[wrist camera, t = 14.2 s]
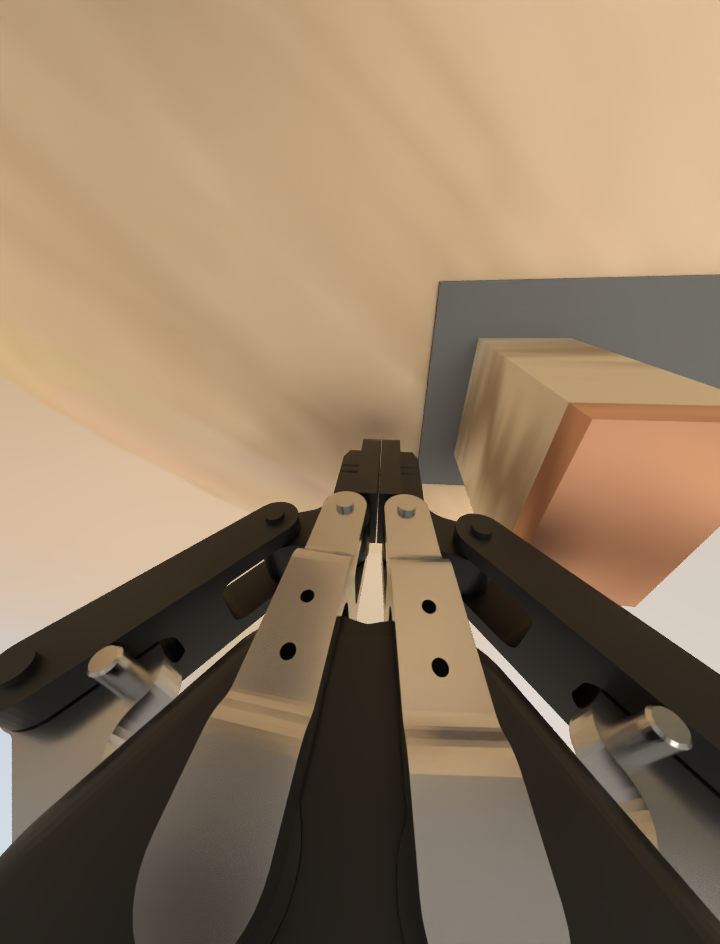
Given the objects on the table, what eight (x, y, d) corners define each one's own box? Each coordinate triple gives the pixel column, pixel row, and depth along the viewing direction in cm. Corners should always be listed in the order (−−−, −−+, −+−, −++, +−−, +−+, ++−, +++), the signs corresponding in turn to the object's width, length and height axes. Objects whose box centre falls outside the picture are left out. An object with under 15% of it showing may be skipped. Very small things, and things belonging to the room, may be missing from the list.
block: (478, 337, 14) (592, 419, 6) (571, 338, 14) (825, 425, 6) (453, 453, 18) (502, 595, 10) (525, 456, 18) (634, 606, 10)
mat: (439, 281, 13) (440, 281, 13) (873, 270, 12) (887, 270, 11) (416, 479, 20) (416, 483, 20) (686, 491, 19) (691, 494, 18)
